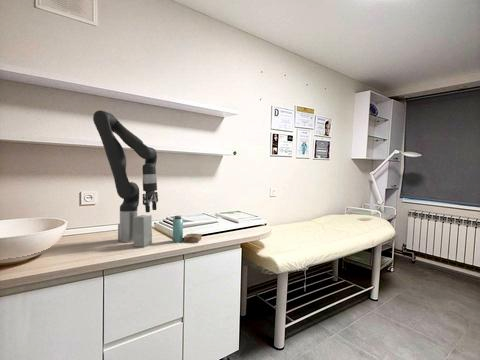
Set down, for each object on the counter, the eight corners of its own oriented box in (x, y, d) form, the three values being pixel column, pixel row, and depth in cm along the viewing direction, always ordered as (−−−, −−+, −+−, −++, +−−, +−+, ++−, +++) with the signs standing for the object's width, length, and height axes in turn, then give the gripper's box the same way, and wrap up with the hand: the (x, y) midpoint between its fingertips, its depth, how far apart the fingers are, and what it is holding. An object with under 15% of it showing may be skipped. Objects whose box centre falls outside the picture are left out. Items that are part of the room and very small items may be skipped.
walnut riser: (183, 242, 143) (184, 236, 143) (188, 238, 151) (188, 233, 151) (197, 242, 142) (197, 237, 142) (201, 238, 150) (201, 233, 150)
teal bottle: (171, 242, 142) (171, 216, 141) (174, 239, 147) (175, 215, 147) (180, 242, 141) (181, 217, 141) (184, 240, 147) (184, 215, 146)
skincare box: (144, 247, 131) (144, 217, 130) (131, 246, 132) (132, 216, 132) (152, 243, 139) (153, 214, 139) (141, 242, 140) (141, 214, 140)
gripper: (149, 182, 149) (150, 209, 149) (137, 183, 135) (138, 213, 135) (161, 181, 148) (162, 209, 149) (150, 182, 134) (152, 212, 135)
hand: (151, 211), depth 142 cm, fingers open, 8 cm apart
